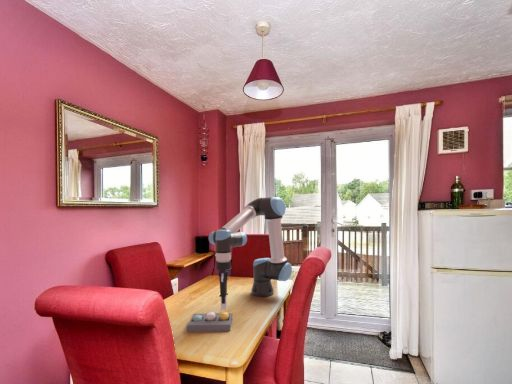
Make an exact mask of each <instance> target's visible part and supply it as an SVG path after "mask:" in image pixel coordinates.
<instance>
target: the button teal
mask: <svg viewBox="0 0 512 384" xmlns="http://www.w3.org/2000/svg"><path fill="white" fill-rule="evenodd" d="M192 316H193V315H192ZM193 321H202V315H195V316H193Z"/></svg>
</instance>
